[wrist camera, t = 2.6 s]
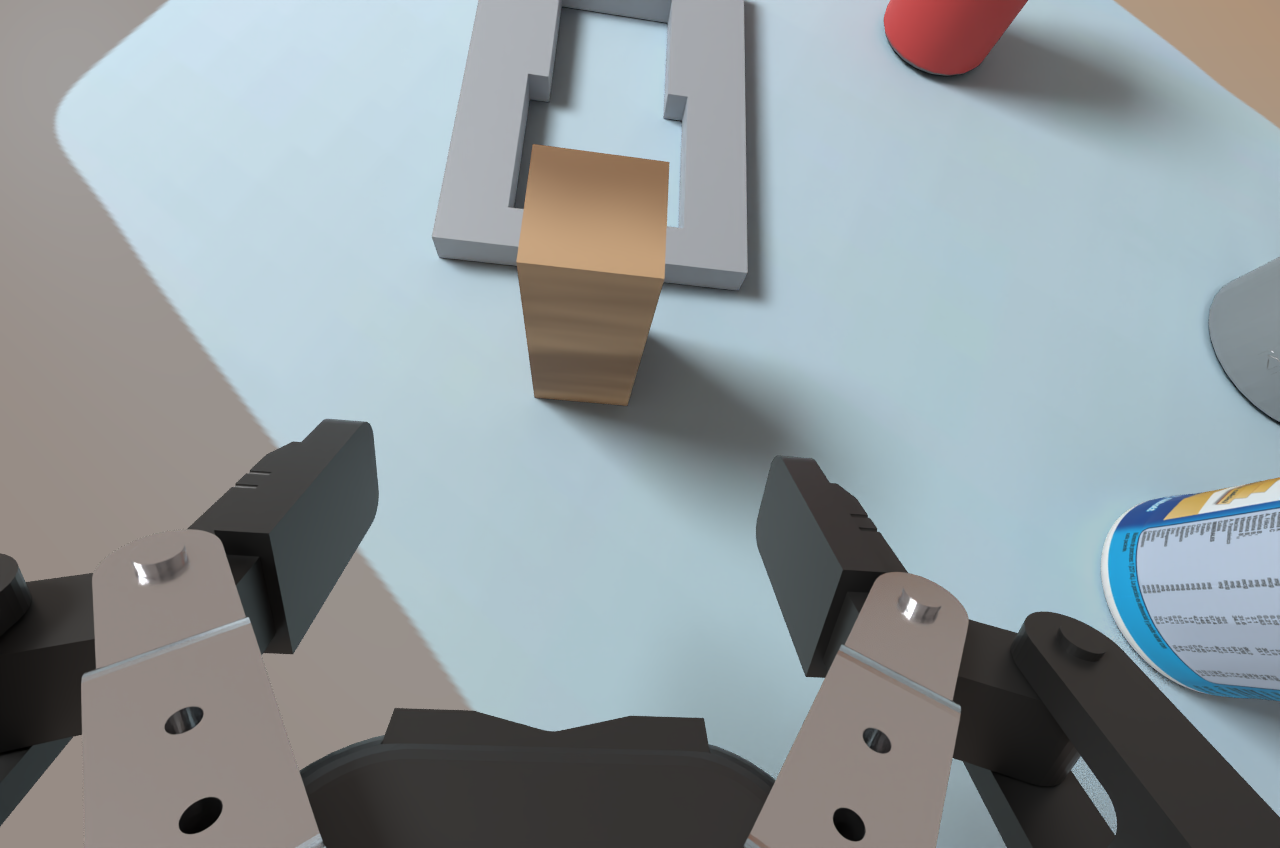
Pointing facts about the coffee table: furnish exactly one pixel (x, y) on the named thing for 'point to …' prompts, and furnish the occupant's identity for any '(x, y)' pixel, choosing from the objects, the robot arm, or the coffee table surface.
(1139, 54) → the coffee table surface
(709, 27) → the keyhole plate
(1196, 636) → the beverage bottle
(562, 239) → the tan peg
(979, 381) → the coffee table surface
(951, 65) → the beer can
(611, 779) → the robot arm
